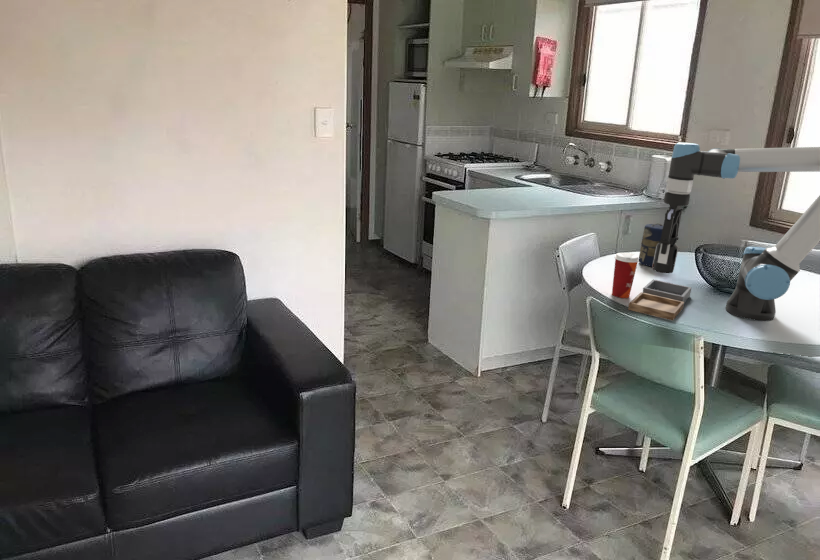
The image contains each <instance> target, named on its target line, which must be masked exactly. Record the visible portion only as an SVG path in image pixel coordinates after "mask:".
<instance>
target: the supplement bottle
mask: <svg viewBox="0 0 820 560" xmlns="http://www.w3.org/2000/svg"><path fill="white" fill-rule="evenodd" d="M677 237H678V236H677ZM677 237H676V236H674V235H672V236H671V240H670V249H669V254H668V259H667V264H663V263H658V257H659V252H660V247H661V243H658V244H657V246H656V250H655V255H654V260H653V265H652V266H651V269H652V270H653V271H655V272H658V273H661V274H672V273H674V271H675V266H676V261H677V256H678V252H679V246H678V245H677V242H678V240H677ZM665 240H666V239H665Z"/></svg>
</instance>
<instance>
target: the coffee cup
mask: <svg viewBox="0 0 820 560" xmlns="http://www.w3.org/2000/svg"><path fill="white" fill-rule="evenodd" d="M614 259H615V260H614V268H613V280H612V291H611V295H612V296H614V298H620V299H628V298H630V295H631V291H632V287H633V283H634V279H635V274H636V271H637V266H638V263H639V255H636V254H635V253H630V252H617V253H616V255H615V256H614Z"/></svg>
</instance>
